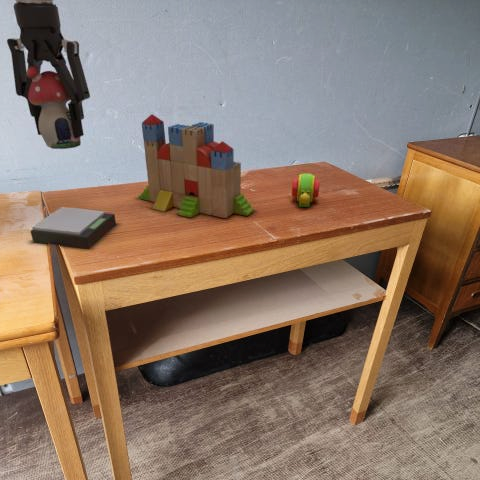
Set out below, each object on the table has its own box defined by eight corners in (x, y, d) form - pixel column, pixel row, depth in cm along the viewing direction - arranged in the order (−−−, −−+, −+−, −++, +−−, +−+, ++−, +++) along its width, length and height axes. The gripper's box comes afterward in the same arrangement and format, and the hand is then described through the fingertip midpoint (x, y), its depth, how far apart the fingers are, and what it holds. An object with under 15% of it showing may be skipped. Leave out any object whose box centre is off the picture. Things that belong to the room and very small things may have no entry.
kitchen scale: (33, 242, 87) (29, 228, 86) (65, 219, 97) (62, 205, 95) (89, 248, 85) (86, 234, 84) (116, 224, 95) (114, 211, 93)
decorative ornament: (42, 151, 91) (23, 67, 82) (36, 143, 95) (18, 63, 87) (88, 146, 95) (74, 66, 86) (80, 139, 99) (67, 62, 90)
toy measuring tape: (289, 209, 104) (292, 181, 100) (294, 182, 119) (296, 157, 116) (317, 211, 103) (320, 183, 99) (318, 184, 119) (321, 159, 115)
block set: (260, 207, 105) (264, 119, 93) (231, 228, 94) (232, 132, 83) (164, 186, 115) (157, 105, 104) (128, 203, 105) (116, 115, 94)
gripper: (96, 4, 82) (113, 134, 95) (-2, 0, 85) (28, 127, 98) (76, 3, 76) (97, 143, 89) (-30, 0, 79) (6, 135, 92)
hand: (61, 134), depth 93 cm, fingers closed on decorative ornament, 7 cm apart
